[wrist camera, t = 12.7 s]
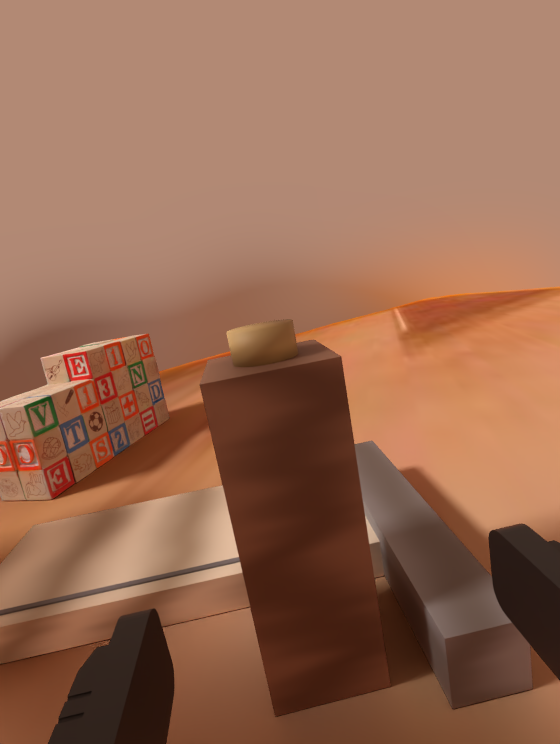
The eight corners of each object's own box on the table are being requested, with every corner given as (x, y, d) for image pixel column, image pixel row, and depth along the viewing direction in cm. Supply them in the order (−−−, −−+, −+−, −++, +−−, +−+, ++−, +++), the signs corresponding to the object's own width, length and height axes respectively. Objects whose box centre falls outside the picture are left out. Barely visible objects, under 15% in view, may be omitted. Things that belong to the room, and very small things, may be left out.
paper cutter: (-201, 873, 13) (-242, 804, 13) (41, 549, 30) (29, 512, 29) (532, 688, 15) (528, 618, 14) (377, 477, 31) (372, 440, 31)
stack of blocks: (53, 502, 38) (10, 372, 35) (1, 503, 40) (-43, 379, 37) (170, 418, 58) (149, 331, 55) (132, 421, 60) (110, 337, 57)
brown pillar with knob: (275, 716, 16) (191, 346, 13) (265, 622, 20) (201, 331, 17) (390, 686, 16) (335, 318, 13) (356, 600, 20) (309, 311, 17)
